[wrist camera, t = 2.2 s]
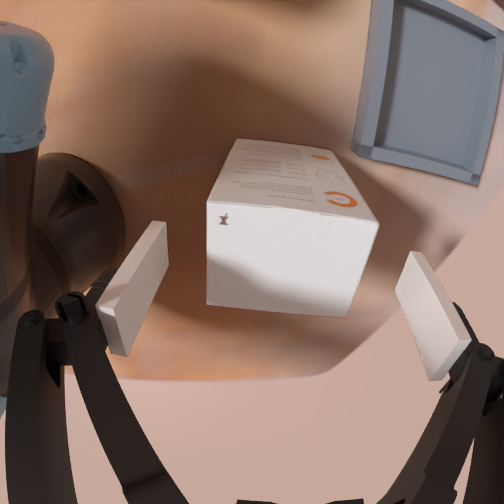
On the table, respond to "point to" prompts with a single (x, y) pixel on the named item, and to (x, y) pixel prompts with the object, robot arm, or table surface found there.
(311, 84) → the table surface
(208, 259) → the small box
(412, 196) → the table surface
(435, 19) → the tray
